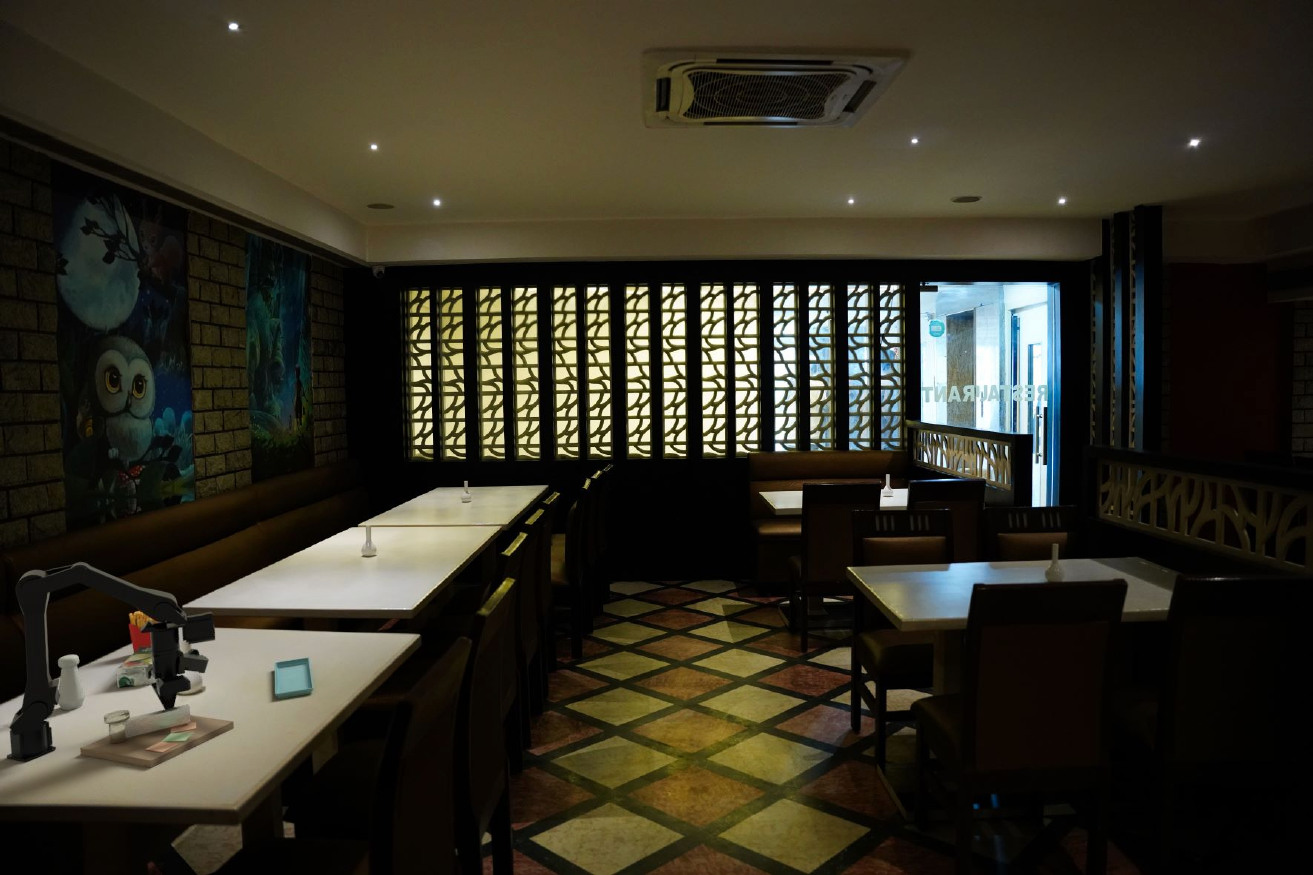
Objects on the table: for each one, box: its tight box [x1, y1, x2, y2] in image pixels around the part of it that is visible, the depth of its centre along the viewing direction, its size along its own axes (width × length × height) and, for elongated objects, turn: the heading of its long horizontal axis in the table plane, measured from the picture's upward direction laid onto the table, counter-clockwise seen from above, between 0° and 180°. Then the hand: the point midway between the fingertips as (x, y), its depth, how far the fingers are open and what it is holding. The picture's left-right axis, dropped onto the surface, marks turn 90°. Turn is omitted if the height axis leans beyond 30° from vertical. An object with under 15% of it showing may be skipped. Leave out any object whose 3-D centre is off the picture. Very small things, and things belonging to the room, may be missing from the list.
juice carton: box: [116, 646, 155, 689], centre depth 232 cm, size 20×10×6 cm, turn 16°
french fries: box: [128, 610, 157, 653], centre depth 252 cm, size 9×4×13 cm, turn 105°
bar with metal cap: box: [103, 704, 191, 743], centre depth 187 cm, size 16×5×6 cm, turn 130°
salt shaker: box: [57, 654, 86, 711], centre depth 209 cm, size 6×6×13 cm
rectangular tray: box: [274, 657, 315, 700], centre depth 224 cm, size 26×9×2 cm, turn 25°
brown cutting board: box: [79, 714, 235, 768], centre depth 187 cm, size 21×21×2 cm
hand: (169, 713), depth 195 cm, fingers closed
